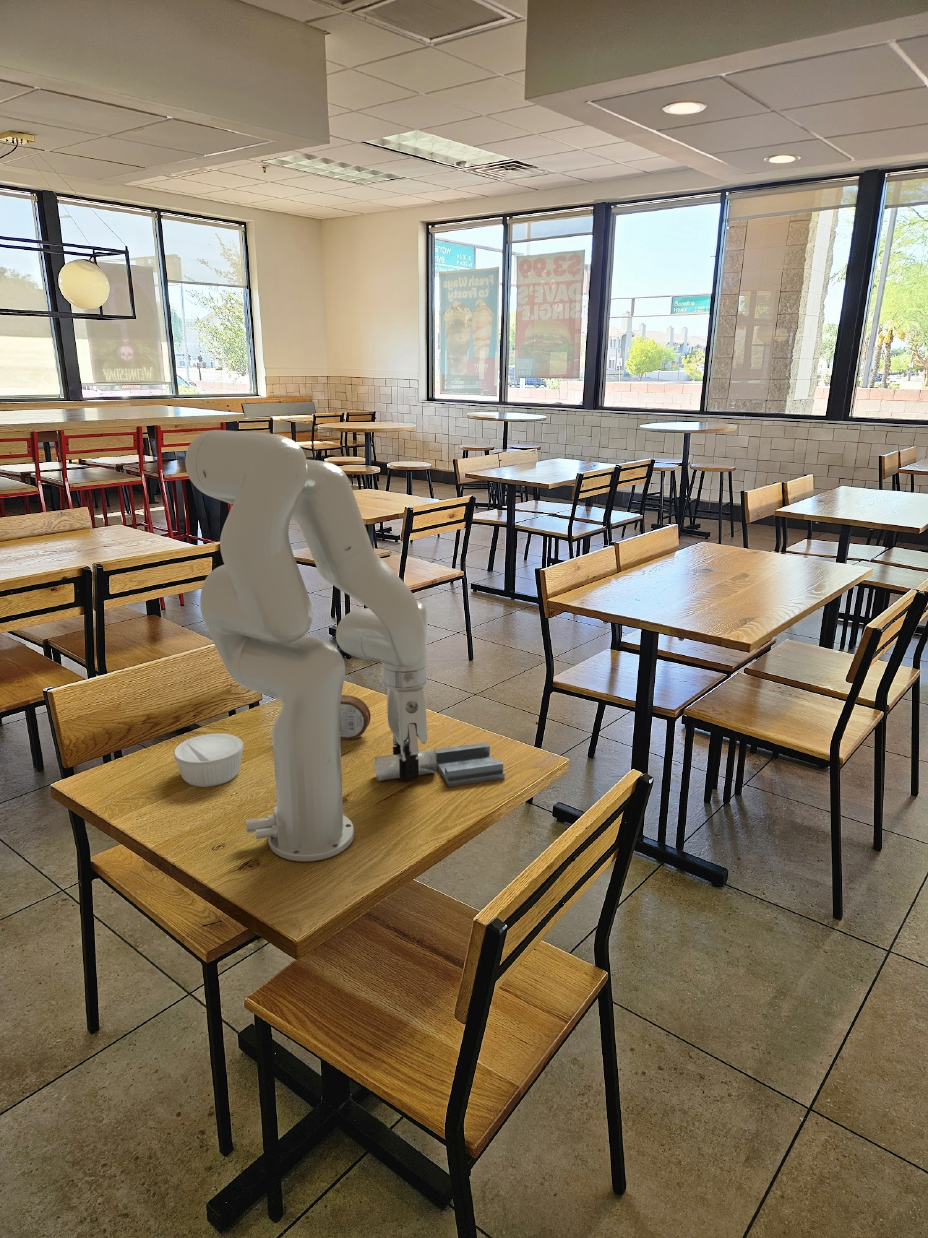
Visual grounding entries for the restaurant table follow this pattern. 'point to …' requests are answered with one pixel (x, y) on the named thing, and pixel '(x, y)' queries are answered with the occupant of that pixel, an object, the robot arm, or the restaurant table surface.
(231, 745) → the ramekin
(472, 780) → the v block
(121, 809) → the restaurant table surface
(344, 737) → the tin
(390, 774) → the clear cylinder
